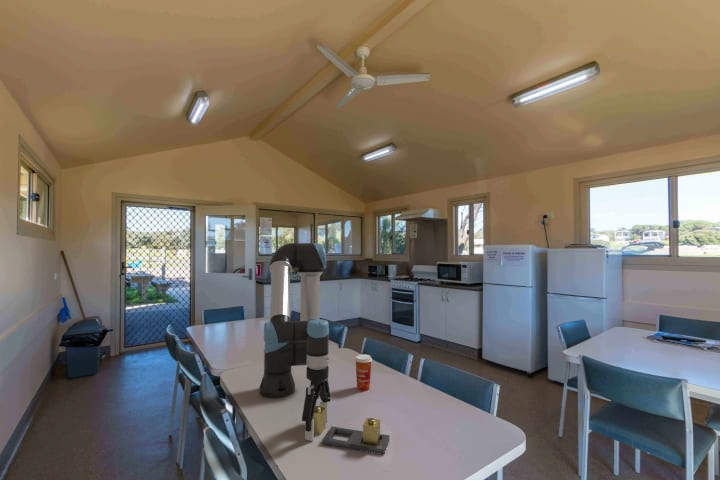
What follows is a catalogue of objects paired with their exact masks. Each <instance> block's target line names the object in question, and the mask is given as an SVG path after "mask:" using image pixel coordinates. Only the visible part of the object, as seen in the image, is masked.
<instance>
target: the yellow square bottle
mask: <svg viewBox="0 0 720 480" xmlns="http://www.w3.org/2000/svg"><path fill="white" fill-rule="evenodd" d="M325 414H326V408H324V407H320V405H316V406H315V410H314V415H313V419H314V435H318V436H321V435H323V434H322V433H323V432H324V430H325V429H326V421H325Z"/></svg>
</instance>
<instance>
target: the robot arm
mask: <svg viewBox="0 0 720 480" xmlns="http://www.w3.org/2000/svg"><path fill="white" fill-rule="evenodd" d="M327 262H328V261H327V255H326V249H325V246H324V245H323V244H322V243H316V242H296V243H295V242H289V243H288V242H287V243H284V244H283V245H281V246H280V247H278V248H277V250H276V251H274V253H273V254H272V256H271V258H270V261H269V266H268V267H269V269H268V270H269V272H270V274H271V279H270V284H271V285H270V306H269V309H270V310H269V321H268V322H265V323H264V325H263V341H264V349H263V353H264V354H263V355H264V356H263V357H264V359H263V362H264V363H263V375H262V378H261V382H260V385H259V391H258V394H259V395H260V396H262V397H263V398H268V399H280V398H284V397H288V396H290V395H292V394H293V393H294V392H295V391H296V383H295V379H294V377H293V373H292V367H297V366H306V379H307V380H309V382H310V384H309V387H308V386H307V387H306V388H305V398H304V405H303V409H302V415H301V421H302V422H304V440H306V441H310V442H313V441H314V438H315V437H314V436H315V434H314V419H313V415H314V410H315V406H317V401H318V400H319V399H320V402H319V406H320V407H324V408H326V414H325V423H327V422H328V421H329V419H328V418H329V415H328V414H329V403H330V402H331V391H330V386H329V384H330V383H329V361H330V359H331V358H330V357H329V345H330V344H329V343H330V341H329V339H330V338H329V337H330V328H329V327H330V326H329V321H328V320H326V319H323V318H322V319H320V311H321V310H320V308H321V307H320V306H321V305H320V301H321V299H320V295H321V293H320V291H321V290H320V288H321V287H320V286H321V283H320V281H321V280H320V279H321V278H320V277H321V276H322V274H323V273H324V270H325V269H327ZM293 270H296V271H297V275H299V276H300V308H299V309H300V316H299V317H300V320H297V321H296V320H294V321H293V320H292V321H291V272H292V271H293Z"/></svg>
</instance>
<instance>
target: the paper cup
mask: <svg viewBox="0 0 720 480" xmlns="http://www.w3.org/2000/svg"><path fill="white" fill-rule="evenodd" d="M354 361H355V374H356V389H357V390H358V391H361V392H366V391H367V392H368V391H369V390H370V386H371V376H372V375H371V373H372V372H371V371H372V362H373V358H372V356H371V355H370V354H358V355H357V356H355V359H354Z"/></svg>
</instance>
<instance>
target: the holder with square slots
mask: <svg viewBox="0 0 720 480" xmlns="http://www.w3.org/2000/svg"><path fill="white" fill-rule="evenodd" d="M336 433H337V434H336ZM335 434H336V435H342V434H343V435H344V436H348V435H350V436H349V438H348V440H342V439H336V438H335V436H336V435H335ZM343 435H342V436H343ZM333 437H334V438H333ZM380 440H381V441H380ZM389 443H390V435H389V434H383V433H382V434H381V419H375V418H374V417H370V418H369V417H367V418H365V420H364V422H363V424H362V430H358V429H351V428H344V427H338V426H331V427H330V428H329V429H328V431H327V433H326V434H325V435H324V437H323V438H322V445H324V446H325V445H326V446H332V447H336V446H338V447H337V448H342V447H343V448H344V449H348V448H350V449H349V450H354V449H355V450H356V451H360V450H362V451H361V452H365V451H368V452H367V453H371V452H373V453H372V454H377V453H381V454H380V455H383V454H385V455H386V452H385V451H387V449H388V446H389ZM343 448H342V449H343ZM386 448H387V449H386ZM355 450H354V451H355ZM374 452H375V453H374Z"/></svg>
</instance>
